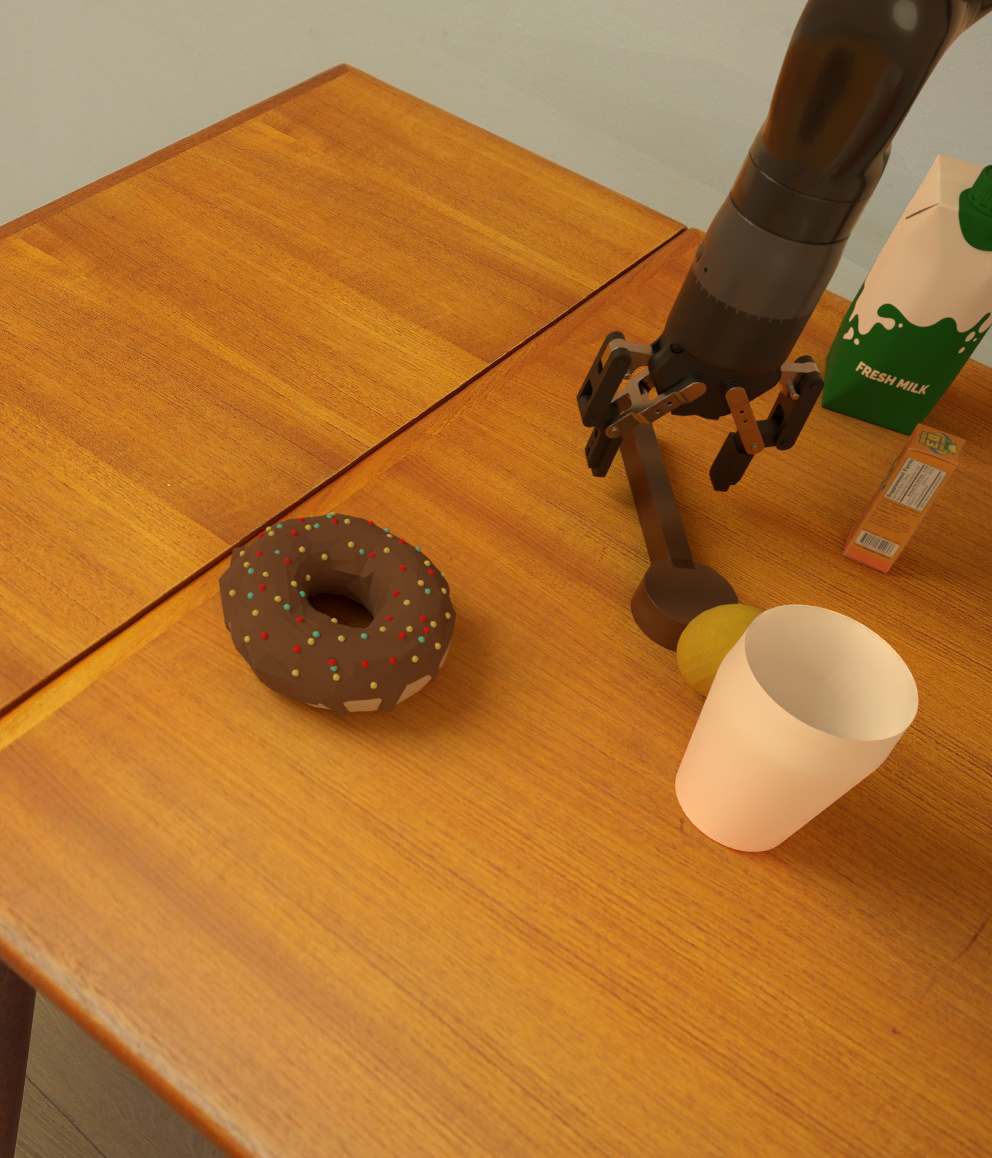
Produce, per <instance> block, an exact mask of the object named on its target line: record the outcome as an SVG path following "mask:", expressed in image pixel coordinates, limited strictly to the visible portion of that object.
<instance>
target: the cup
mask: <svg viewBox="0 0 992 1158" xmlns="http://www.w3.org/2000/svg"><path fill="white" fill-rule="evenodd" d="M764 611H765V612H763V613H761V614H760V615H759V616H757V617H756V618H755V619H754V620H753V621H752V623H751V624H750V625H749V627H748V628H747V630H746V631H745V632H744V634H743V635H742V636H741V638H740V639H739V640H738V642H737V643H736V644H735V646H734V647H733V648H732V649H731V650H730V651H729V652H728V653H727V655H726V656H725V658H724V659H723V661H722V663H721V665H720V667H719V669H718V671H717V674H716V676H715V679H714V681H713V684H712V686H711V689H710V691H709V694H708V696H707V698H706V699H705V701H704V704H703V706H702V709H701V711H700V714H699V715H698V719H697V721H696V724H695V727H694V729H693V731H692V734H691V736H690V739H689V742H688V744H687V747H686V749H685V752H684V755H683V757H682V760H681V762H680V765H679V767H678V770H677V771H676V775H675V780H674V781H675V782H674V783H675V784H674V788H675V795H676V798H677V801H678V803H679V807H680V808H681V809H682V811H683V813H684V814H685V816H686V817H687V818H688V820H689V821H690V822H691V823H692V824H693V825H694V826H695V827H696V828H697V829H698V830H699V831H700V832H701V833H703V834H704V835H705V836H707V837H708V838H709V839H711V840H713V841H714V842H716V843H718V844H720V845H723V846H724V847H727V848H729V849H733V850H737V851H741V852H748V853H749V852H750V853H759V852H766V851H768V850H772V849H774V848H776V847H778V846H779V845H781V844H782V843H783V842H784V841H786V840H787V839H789V838H790V837H792V835H793V834H795V833H796V832H797V831H799V830H800V829H802V828H803V827H804V826H805V825H807V824H808V823H809V822H811V821H812V820H813V819H814V818H815V817H817V816H818V815H819V814H821V813H822V812H823V811H824V810H826V809H827V808H829V807H830V806H831V805H832V804H834V803H835V802H836V801H838V800H839V799H840V798H841V797H843V796H844V795H845V794H847V793H848V792H849V791H851V790H852V789H853V788H854V787H855V786H857V785H858V784H859V783H861V782H862V781H864V779H866V778H867V777H868V776H869V775H871V774H872V773H873V772H875V771H876V770H877V769H878V768H879V767H881V765H883V764H884V762H885V761H886V760H887V759H888V758H889V755H890V754H891V753H892V751H893V750H894V748H895V746H896V745H897V743H899V741H900V739H901V738H902V737H903V736H904V734H905V733H906V731H907V730H908V729H909V727H910V726H911V724H913V721H914V720H915V718H916V716H917V713H918V710H919V693H918V688H917V683H916V680H915V679H914V676H913V674H912V672H911V670H910V669H909V667H908V665H907V664H906V662H905V661H904V660H903V658H902V657H901V656H900V654H899V653H897V651H896V650H895V649H894V648H893V647H892V646H891V644H889V643H888V642H887V641H886V640H885V639H884V638H883V637H882V636H880V635H879V634H877V633H876V632H875V631H874V630H871V628H869V627H868V626H866V625H864V624H863V623H861V622H859V621H857V620H855V619H854V618H851V617H849V616H848V615H845V614H843V613H840V612H838V611H834V610H832V609H828V608H824V607H821V606H816V605H809V604H797V603H795V604H784V605H778V606H775V607H772V608H769V609H766V610H764Z"/></svg>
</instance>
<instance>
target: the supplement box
mask: <svg viewBox="0 0 992 1158" xmlns="http://www.w3.org/2000/svg"><path fill="white" fill-rule="evenodd" d="M965 444H966V439H964V438H961V437H959V436H956V435H953V434H951V433H948V432H945V431H943V430H940V429H938V428H934V427H932V426H928V425H926V424H923V423H921V424H920V423H918V424H917V426H916V427H915V429H914V431H913V433H912V434H911V435H909V438H908V439H907V440H906V443H905V444H904V446H903V447H902V449H901V451H900V452H899V454H898V455H897V456H896V458H895V460H894V461H893V462H892V464H891V466H890V467H889V469H888V471H887V473H886V474H885V476H884V477H883V479H882V480H881V482H880V484H879V485H878V487H877V489H876V490H875V491H874V493H873V495H872V496H871V498H870V500H869V501H868V502H867V505H866V506H865V507H864V509H863V511H862V512H861V514H860V515H859V517H858V518H857V520H856V522H855V523H854V524H853V527H851V529H850V531H849V532H848V535H847V538H846V541H845V544H844V547H843V550H842V553H841V554H842V556H844V557H846V558H847V559H850V560H852V561H855V562H857V563H859V564H861V565H864V566H867V567H869V568H871V569H873V570H876V571H878V572H881V573H884V574H887V573H888V572H889V571H890V570H891V569H892V567H893V566H894V564H895V563H896V562H897V560H898V558H899V557H900V555H901V553H902V552H903V551H904V549H905V548H906V546H907V545H908V543H909V542H910V540H911V539H912V537H913V536H914V534H915V533H916V531H917V529H918V528H919V526H920V525H921V524H922V522H923V520H924V519H925V518H926V516H927V514H928V513H929V511H930V510H931V508H932V507H933V505H934V503H935V502H936V500H937V499H938V497H939V496H940V494H941V493H942V491H943V489H944V488H945V487H946V485H947V483H948V482H949V480H950V479H951V477H952V475H953V473H954V472H955V471H956V469H957V467H958V465H960V456H961V453H962V450H963V448H964V446H965Z"/></svg>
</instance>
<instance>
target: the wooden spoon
mask: <svg viewBox="0 0 992 1158" xmlns="http://www.w3.org/2000/svg"><path fill="white" fill-rule="evenodd" d="M628 409H629V408H628ZM628 409H627V410H628ZM625 411H626V410H625ZM625 411H624V412H625ZM622 439H623V440H622V442H621V444H620V447H619V451H620V454H621V458H622V461H623V466H624V470H625V472H626V477H627V480H628V485H629V487H630V492H631V495H632V498H633V499H632V500H633V502H634V506H635V510H636V513H637V517H638V520H639V524H640V528H641V532H642V536H643V539H644V543H645V546H646V550H647V554H648V557H649V561H650V564H651V565H649V566H648V568H647V569H646V571H645V572H644V575H643V576H642V578H641V580H640V582H639V584H638V586H637V587H636V589H635V591H634V593H633V595H632V597H631V601H630V611H631V615H632V618H633V620H634V622H635V623H636V625H637V626H638V628H639V629H640V630H641V631H642V632H643V633H644V634H645V635H646V636H647V637H648V638H649V639H650V640H652V641H653V642H655V644H658V645H660V646H662V647H664V648H667V649H668V650H671V651H674V652H677V644H678V642H679V639H680V636H681V634H682V632H683V631H684V629H685V628H686V627H687V625H688V624H689V623H690V622H691V621H692V620H693V619H694V618H696V617H697V616H698V615H700V614H701V613H703V612H704V611H707V610H709V609H712V608H715V607H717V606H721V605H729V604H740V602H739V598H738V595H737V593H736V591H735V589H734V587H733V586H732V585H731V583H730V582H729V581H728V580H727V579H726V578H725V577H724V576H723V575H721V574H720V573H719V572H718V571H716V570H715V569H713V568H711V567H710V566H708V565H706V564H703V563H701V562H700V561H696V560H694V557H693V554H692V551H691V548H690V545H689V541H688V537H687V535H686V531H685V528H684V525H683V522H682V518H681V514H680V511H679V508H678V505H677V502H676V498H675V494H674V491H673V488H672V483H671V482H670V479H669V478H670V477H669V475H668V471H667V469H666V466H665V462H664V461H665V460H664V459H663V455H662V452H661V448H660V445H659V442H658V438H657V434H656V432H655V429H654V426H653V422H652V423H650V424H645V423H641V424H639V425H638V426H636V427H634V428H633V429H631V430H630V431H628V432H626V433H625V434H623V435H622Z"/></svg>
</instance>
